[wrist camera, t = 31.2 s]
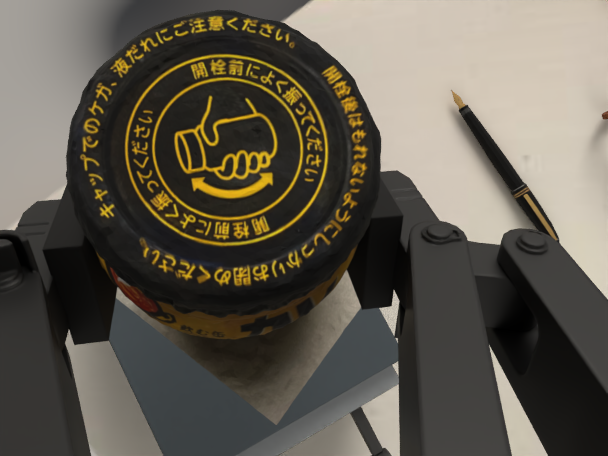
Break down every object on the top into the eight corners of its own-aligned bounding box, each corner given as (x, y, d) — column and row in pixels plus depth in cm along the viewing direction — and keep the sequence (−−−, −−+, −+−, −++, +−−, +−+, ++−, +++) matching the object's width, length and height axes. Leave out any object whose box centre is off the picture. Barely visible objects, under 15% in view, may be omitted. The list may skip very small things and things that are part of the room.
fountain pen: (441, 96, 41) (448, 88, 40) (453, 89, 41) (461, 81, 40) (549, 253, 40) (560, 250, 38) (560, 245, 40) (572, 242, 39)
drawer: (395, 427, 35) (440, 454, 27) (239, 522, 33) (241, 580, 25) (272, 194, 37) (283, 160, 29) (117, 269, 35) (85, 252, 27)
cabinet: (361, 350, 37) (405, 356, 27) (193, 445, 34) (178, 489, 25) (264, 166, 38) (274, 113, 29) (97, 244, 36) (49, 214, 26)
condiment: (220, 134, 21) (203, -115, 9) (389, 266, 21) (589, 183, 9) (92, 279, 19) (-125, 199, 8) (275, 424, 19) (340, 568, 7)
